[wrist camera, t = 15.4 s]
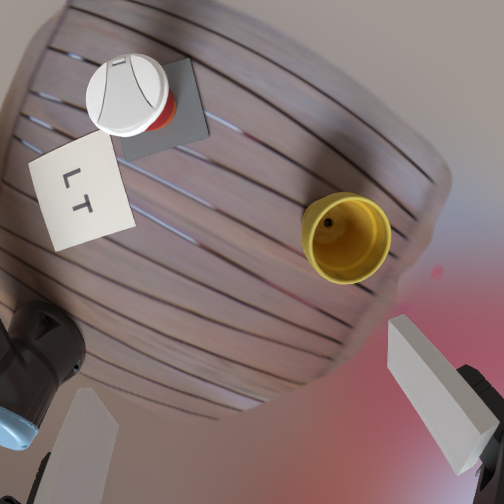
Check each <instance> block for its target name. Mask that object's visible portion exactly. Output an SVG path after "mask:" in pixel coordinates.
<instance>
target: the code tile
mask: <svg viewBox="0 0 504 504" xmlns="http://www.w3.org/2000/svg"><path fill="white" fill-rule="evenodd" d="M28 165H29V169H30V173H31V177H32V180H33V184H34V188H35V191H36V195H37V198H38V201H39V205H40V208H41V211H42V214H43V217H44V220H45V223H46V226H47V229H48V232H49V235H50V237H51V240H52V243H53V246H54V248H55V251H56V252H57V251H60V250H63V249H66V248H69V247H72V246H75V245H78V244H81V243H84V242H87V241H90V240H93V239H96V238H99V237H102V236H105V235H108V234H112V233H115V232H118V231H121V230H124V229H128V228H131V227H134V226H136V223H135V220H134V217H133V214H132V211H131V208H130V205H129V201H128V198H127V195H126V191H125V188H124V185H123V181H122V178H121V174H120V171H119V167H118V163H117V160H116V156H115V152H114V148H113V145H112V141H111V137H110V134H108V133H106V132H104V131H102V130H98V131H96V132H93V133H91V134H89V135H86V136H84V137H82V138H79V139H77V140H75V141H73V142H70V143H68V144H66V145H64V146H62V147H60V148H58V149H56V150H53V151H51V152H49V153H47V154H45V155H43V156H41V157H39V158H37V159H36V160H34V161H32V162H30V163H28Z"/></svg>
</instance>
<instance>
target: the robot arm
mask: <svg viewBox="0 0 504 504" xmlns="http://www.w3.org/2000/svg"><path fill="white" fill-rule="evenodd" d="M84 359H85V345H84V341H83V339H82V336H81V334H80V332H79V331H78V329H77V328H76V326H75V325H74V324H73V322H72V321H71V320H70V319H69V318H68V317H67V316H66V315H65V314H64V313H62V312H61V311H60V310H58V309H57V308H55V307H53V306H52V305H49V304H47V303H44V302H39V301H31V302H27V303H25V304H24V305H22V306H21V307H20V308H19V309H18V310H17V311H16V312H15V314H14V315H13V317H12V320H11V323H10V325H9V328H8V331H6V329H5V327H4V325H3V323H2V321H1V319H0V445H1V446H4V447H6V448H9V449H13V450H24V449H26V448H28V447H29V446H30V444H31V442H32V440H33V438H34V437H35V435H36V434H37V433H38V431H39V428H40V425H41V423H42V421H43V419H44V416H45V414H46V412H47V410H48V408H49V406H50V404H51V402H52V400H53V398H54V396H55V393H56V392H57V390H58V388H59V387H60V386H61V385H62V384H64V383H65V382H66V381H68V380H69V379H70V378H72V377H73V376H74V375H76V374H77V372H78V371H79V370H80V368H81V366H82V364H83V362H84ZM387 367H388V369H389V370H390V371H391V373H392V374H393V376H394V378H395V379H396V381H397V382H398V383H399V385H400V386H401V388H402V389H403V391H404V392H405V394H406V396H407V397H408V399H409V400H410V402H411V403H412V405H413V406H414V408H415V409H416V411H417V412H418V414H419V415H420V417H421V418H422V420H423V421H424V423H425V424H426V426H427V428H428V429H429V431H430V433H431V434H432V436H433V437H434V439H435V441H436V442H437V444H438V445H439V447H440V449H441V450H442V452H443V454H444V455H445V457H446V458H447V460H448V461H449V463H450V465H451V467H452V468H453V470H454V471H455V473H456V475H457V476H458V475H459V474H461V473H463V472H464V471H466V470H468V469H469V468H471V467H472V466H474V465H475V463H476V462H477V460H478V459H479V458H480V459H481V461H482V462H483V463H482V465H481V466H480V468H479V469H478V471H477V472H476V475H475V476H476V477H477V476H478V475H479V474H480V476H479V481H478V485H477V489H476V493H475V497H474V500H473V504H504V399H503V398H502V396H501V395H500V394H499V393H498V392H497V391H496V390H495V389H494V387H492V386H491V384H490V383H489V382H488V381H487V380H485V378H484V376H483V375H482V374H481V373H480V372H479V371H478V370H477V369H474V368H473V367H471V366H468V365H466V364H465V365H464V366H462V367H460V368H458V369H455V368H454V367H453V366H452V365H451V364H450V363H449V362H448V361H447V359H446V358H445V357H444V356H443V355H442V354H441V353H440V352H439V351H438V349H437V348H436V347H435V346H434V345H433V344H432V343H431V342H430V341H429V340H428V339H427V338H426V337H425V336H424V335H423V333H422V332H421V331H420V330H419V329H418V328H417V327H416V326H415V325H414V324H413V323H412V322H411V321H410V320H409V319H408V317H407V316H406V315H405V314H403V315H400V316H397V317H395V318H392V319H389V332H388V365H387ZM118 428H119V425H118V424H117V422H116V421H115V420H114V418H113V417H112V416H111V414H110V413H109V412H108V410H107V409H106V408H105V406H104V405H103V403H102V402H101V401H100V399H99V398H98V396H97V395H96V393H95V392H94V391H93V389H92V388H91V387H89V388H79V389H78V391H77V393H76V395H75V397H74V400H73V402H72V404H71V406H70V409H69V411H68V413H67V416H66V418H65V420H64V423H63V425H62V427H61V430H60V432H59V435H58V437H57V439H56V442H55V445H54V447H53V450H52V452H48V453H47V455H46V456H45V457H44V458H43V460H42V461H41V464H40V467H39V469H38V470H39V472H37V475H36V479H35V480H34V483H33V486H32V489H31V492H30V495H29V497H28V500H27V504H101V500H102V495H103V490H104V486H105V481H106V476H107V472H108V468H109V464H110V460H111V455H112V451H113V447H114V443H115V440H116V436H117V432H118ZM0 504H21V503H20V502H18V501H17V500H16V499H14V498H13V497H12V496H4V497H2V498H1V499H0Z"/></svg>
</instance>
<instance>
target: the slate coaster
mask: <svg viewBox="0 0 504 504" xmlns="http://www.w3.org/2000/svg"><path fill="white" fill-rule="evenodd" d="M162 68H163V70H164V71H165V73H166V76H167V79H168V86H169V88H170V90H171V92H172V94H173V96H174V98H175V101H176V113H175V115H174V117H173V119H172V120H171V122H170V123H169V124H168V125H166V126H165V127H163V128H161V129H158V130H151V131H143V132H141V133H139V134H137V135H134V136H130V137H121V136H120V138H121V142H122V146H123V149H124V153H125V157H126V161H127V162H129V161H132V160H135V159H138V158H141V157H144V156H147V155H150V154H153V153H156V152H160V151H163V150H166V149H169V148H173V147H176V146H179V145H183V144H186V143H190V142H193V141H197V140H201V139H204V138H208V137H209V134H208V130H207V126H206V122H205V118H204V114H203V110H202V106H201V102H200V98H199V94H198V90H197V86H196V82H195V78H194V74H193V69H192V65H191V61H190V58H187V59H183V60H180V61H176V62H173V63H169V64H166V65H163V66H162Z"/></svg>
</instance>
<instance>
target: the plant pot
mask: <svg viewBox="0 0 504 504" xmlns="http://www.w3.org/2000/svg"><path fill="white" fill-rule="evenodd" d="M327 218H329V219H331V221H332V223H331V225H330V226H329V227H325V226H324V221H325V219H327ZM301 240H302V247H303V250H304V253H305V255H306V257H307V259H308V260H309V262H310V263H311V265H312V266H313V267H314V269H315V270H316V271H317V272H318V273H319V274H320V275H321V276H322V277H324V278H325V279H327V280H329V281H331V282H334V283H338V284H353V283H357V282H360V281H362V280H364V279H366V278H368V277H369V276H371V275H372V274H373V273H374V272H375V271H376V270H377V269H378V268H379V267H380V266H381V264H382V263H383V262H384V260H385V258H386V256H387V254H388V251H389V248H390V243H391V228H390V223H389V220H388V218H387V216H386V214H385V212H384V211H383V209H382V208H381V207H380V206H379V205H378V204H377V203H376V202H374V201H373V200H371V199H369V198H367V197H364V196H361V195H358V194H355V193H350V192H338V193H333V194H331V195H328V196H326V197H324V198H323V199H319V200H316V201H314V202H313V203H312V204H310V205H309V206H308V208H307V209H306V211H305V212H304V215H303V218H302V235H301Z"/></svg>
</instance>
